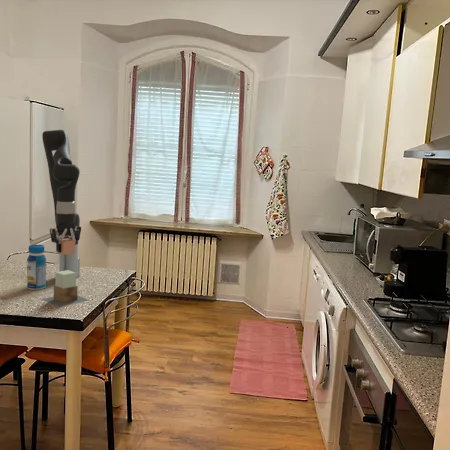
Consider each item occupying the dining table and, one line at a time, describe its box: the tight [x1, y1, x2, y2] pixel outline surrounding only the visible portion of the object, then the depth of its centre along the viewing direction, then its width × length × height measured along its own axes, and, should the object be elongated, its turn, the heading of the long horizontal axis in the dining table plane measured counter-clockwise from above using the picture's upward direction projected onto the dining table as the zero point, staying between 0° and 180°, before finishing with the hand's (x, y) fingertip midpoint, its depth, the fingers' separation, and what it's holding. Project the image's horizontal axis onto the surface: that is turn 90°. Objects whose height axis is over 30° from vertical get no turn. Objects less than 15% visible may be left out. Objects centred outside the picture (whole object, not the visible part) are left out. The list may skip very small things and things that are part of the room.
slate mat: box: [42, 295, 89, 308], centre depth 200 cm, size 14×14×1 cm
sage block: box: [54, 270, 77, 289], centre depth 198 cm, size 6×6×6 cm
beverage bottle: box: [26, 244, 47, 291], centre depth 214 cm, size 8×8×20 cm
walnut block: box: [53, 285, 78, 303], centre depth 199 cm, size 7×7×6 cm
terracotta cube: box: [55, 238, 75, 255], centre depth 196 cm, size 6×6×6 cm
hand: (65, 251), depth 197 cm, fingers closed on terracotta cube, 5 cm apart
